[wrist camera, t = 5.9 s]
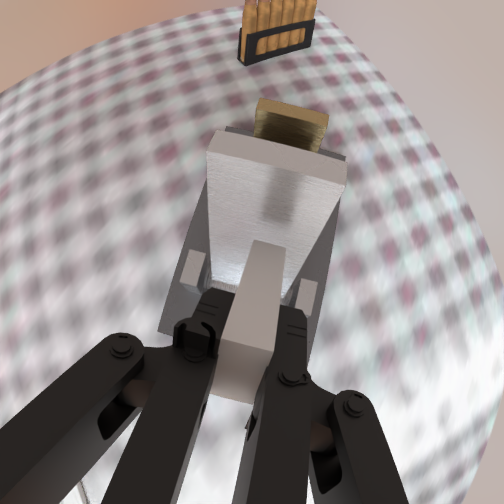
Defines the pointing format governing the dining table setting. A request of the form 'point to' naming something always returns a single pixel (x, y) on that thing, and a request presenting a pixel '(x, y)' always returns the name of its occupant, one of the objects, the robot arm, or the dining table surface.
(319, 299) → the latch board
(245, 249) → the strap
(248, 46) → the ammunition clip
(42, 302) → the dining table surface
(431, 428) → the dining table surface
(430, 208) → the dining table surface
